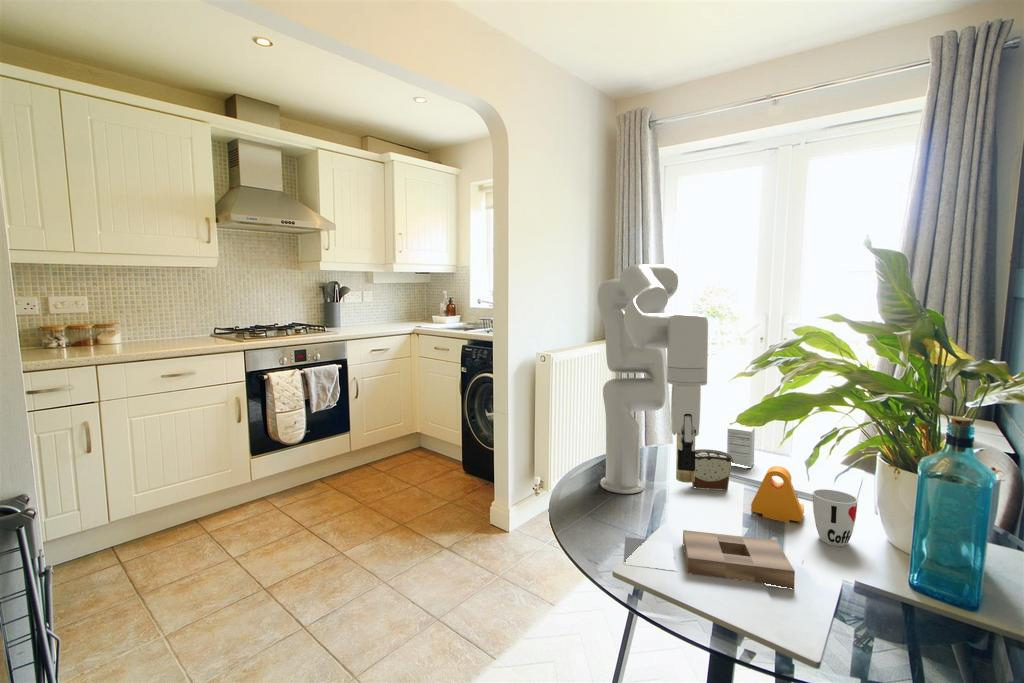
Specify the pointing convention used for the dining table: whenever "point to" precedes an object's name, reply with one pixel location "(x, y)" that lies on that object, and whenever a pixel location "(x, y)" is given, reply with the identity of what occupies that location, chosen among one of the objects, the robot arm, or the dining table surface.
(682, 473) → the peg
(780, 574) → the mortise block
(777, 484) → the bracket
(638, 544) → the mat
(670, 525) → the dining table surface
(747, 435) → the supplement box
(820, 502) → the cup
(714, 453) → the food container
